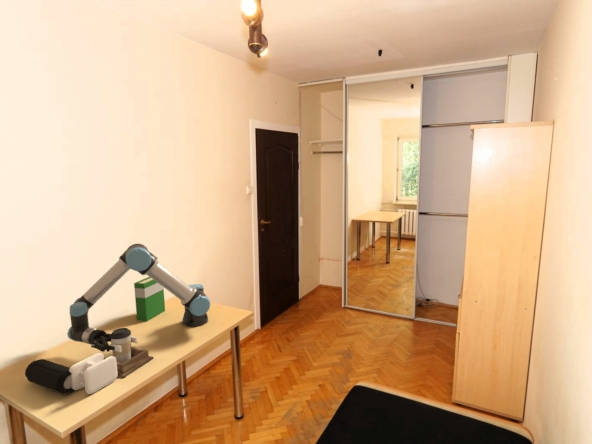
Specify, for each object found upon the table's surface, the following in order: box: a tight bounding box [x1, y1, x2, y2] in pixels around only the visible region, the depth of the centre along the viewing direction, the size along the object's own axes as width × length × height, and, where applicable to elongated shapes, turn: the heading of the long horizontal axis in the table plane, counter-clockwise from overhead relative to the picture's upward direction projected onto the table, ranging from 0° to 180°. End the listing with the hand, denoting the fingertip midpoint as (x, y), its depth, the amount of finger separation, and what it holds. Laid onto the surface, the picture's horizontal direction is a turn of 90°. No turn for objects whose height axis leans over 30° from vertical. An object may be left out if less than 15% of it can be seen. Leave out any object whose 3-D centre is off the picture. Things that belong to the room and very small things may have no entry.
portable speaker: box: [24, 358, 76, 395], centre depth 158 cm, size 26×10×10 cm, turn 65°
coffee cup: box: [110, 327, 132, 363], centre depth 174 cm, size 9×9×15 cm
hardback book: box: [133, 276, 166, 322], centre depth 233 cm, size 18×7×24 cm, turn 163°
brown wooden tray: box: [104, 345, 154, 379], centre depth 175 cm, size 16×18×5 cm
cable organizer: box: [69, 352, 118, 395], centre depth 158 cm, size 15×11×12 cm
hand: (128, 344), depth 172 cm, fingers closed on coffee cup, 9 cm apart
